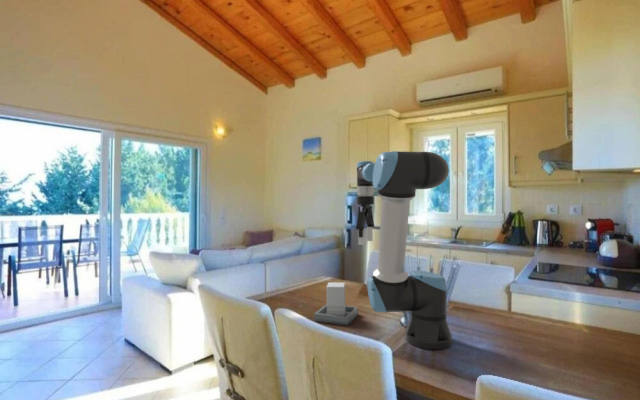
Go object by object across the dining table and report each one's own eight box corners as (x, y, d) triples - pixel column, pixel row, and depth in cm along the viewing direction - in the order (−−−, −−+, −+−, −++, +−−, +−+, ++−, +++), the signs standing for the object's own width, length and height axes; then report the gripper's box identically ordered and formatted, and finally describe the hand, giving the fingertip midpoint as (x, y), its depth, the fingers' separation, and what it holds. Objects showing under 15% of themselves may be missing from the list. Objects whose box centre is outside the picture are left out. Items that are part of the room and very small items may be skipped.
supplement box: (345, 312, 145) (345, 282, 145) (344, 318, 137) (344, 286, 137) (328, 311, 146) (328, 281, 145) (326, 317, 138) (326, 286, 138)
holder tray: (358, 314, 145) (358, 307, 145) (347, 325, 132) (347, 318, 132) (327, 310, 150) (327, 303, 150) (314, 320, 138) (314, 313, 138)
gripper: (364, 195, 168) (365, 239, 169) (348, 195, 145) (349, 245, 146) (380, 195, 165) (380, 239, 166) (365, 195, 143) (366, 246, 143)
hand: (365, 242), depth 156 cm, fingers open, 13 cm apart
